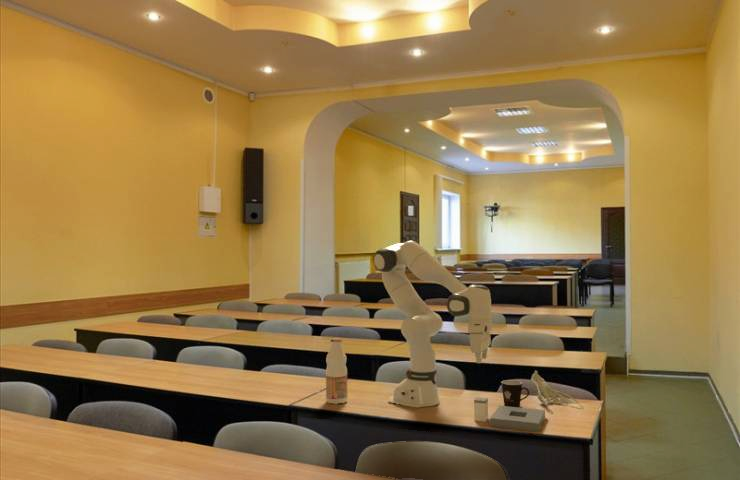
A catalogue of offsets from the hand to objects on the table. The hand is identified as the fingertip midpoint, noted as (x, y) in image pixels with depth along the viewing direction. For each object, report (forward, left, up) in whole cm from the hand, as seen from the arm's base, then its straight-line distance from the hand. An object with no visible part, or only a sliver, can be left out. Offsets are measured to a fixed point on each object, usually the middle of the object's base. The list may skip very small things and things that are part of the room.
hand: (481, 360), depth 227 cm
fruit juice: (-65, +1, -23) cm, 69 cm away
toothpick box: (0, -1, -23) cm, 23 cm away
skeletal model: (+22, +31, -23) cm, 45 cm away
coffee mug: (+9, +21, -23) cm, 33 cm away
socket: (+14, +1, -23) cm, 27 cm away
